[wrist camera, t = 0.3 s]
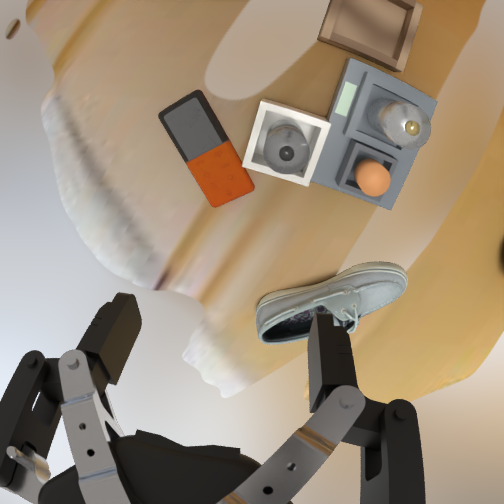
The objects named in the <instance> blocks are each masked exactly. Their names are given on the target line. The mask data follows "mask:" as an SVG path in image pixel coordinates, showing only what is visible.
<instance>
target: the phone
mask: <svg viewBox="0 0 504 504" xmlns="http://www.w3.org/2000/svg"><path fill="white" fill-rule="evenodd" d="M158 117H159V119H160V121H161V123H162V124H163V126H164V128H165V129H166V131H167V133H168V134H169V136H170V138H171V139H172V141H173V143H174V144H175V146H176V148H177V149H178V151H179V153H180V154H181V156H182V158H183V159H184V161H185V163H186V164H187V166H188V168H189V170H190V171H191V173H192V175H193V176H194V178H195V179H196V181H197V183H198V184H199V186H200V188H201V189H202V191H203V193H204V194H205V196H206V198H207V199H208V201H209V202H210V204H211V206H212V207H215V208H216V207H218V206H221V205H223V204H225V203H227V202H229V201H232V200H234V199H236V198H238V197H240V196H243V195H245V194H247V193H250V192H252V191H253V190H254V188H255V187H254V184H253V182H252V180H251V178H250V177H249V175H248V173H247V171H246V169H245V167H242V162H241V160H240V158H239V156H238V155H237V153H236V151H235V149H234V147H233V146H232V144H231V142H230V140H229V138H228V137H227V135H226V133H225V131H224V129H223V128H222V126H221V124H220V122H219V121H218V119H217V117H216V115H215V114H214V112H213V110H212V108H211V107H210V105H209V103H208V101H207V100H206V98H205V96H204V94H203V93H202V91H200V90H195V91H194V92H192V93H190V94H189V95H187V96H185V97H184V98H182V99H180V100H179V101H177V102H175V103H174V104H172V105H170V106H169V107H167V108H166V109H164V110H163V111H161V112H160V113H159V115H158Z"/></svg>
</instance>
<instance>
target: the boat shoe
mask: <svg viewBox="0 0 504 504" xmlns="http://www.w3.org/2000/svg"><path fill="white" fill-rule="evenodd" d="M407 283H408V278H407V274H406V272H405V271H404V269H403V268H402V267H401V266H399V265H397V264H393V263H390V262H367V263H362V264H358V265H355V266H352V267H351V268H349V269H347V270H345V271H343V272H341V273H339V274H338V275H336V276H334V277H332V278H330V279H328V280H326V281H324V282H321V283H318V284H315V285H310V286H304V287H298V288H291V289H285V290H279V291H275V292H272V293H269V294H267V295H266V296H264V297H263V298H262V299H261V301H260V303H259V304H258V306H257V308H256V317H257V318H256V325H257V331H258V338H259V340H260V341H261V342H262V343H264V344H284V343H290V342H295V341H300V340H304V339H308V338H309V333H310V329H311V325H312V321H313V317H314V314H315V313H332V315H333V320H334V326H343V327H344V328H345V330H346V331H347V333H353V332H354V331H355V330H356V327H357V325H359V323H360V322H359V320H360V319H361V317H363V316H365V315H368V314H370V313H372V312H374V311H376V310H378V309H380V308H382V307H384V306H386V305H388V304H390V303H392V302H393V301H395V300H396V299H397V298H399V297H400V296H401V295H402V294H403V293H404V291H405V289H406V287H407Z"/></svg>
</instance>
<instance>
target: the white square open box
mask: <svg viewBox="0 0 504 504" xmlns="http://www.w3.org/2000/svg"><path fill="white" fill-rule="evenodd" d="M282 119H287V120H291V121H294V122H295V123H297V124H298V125H299V126H300V127H301V129H302V131H303V134H304V136H305V138H306V141H307V143H308V145H309V149H310V156H309V160H308V162H307V164H306V165H305V167H304V168H303V169H301V170H300V171H298V172H296V173H293V174H280V173H277V172H275V171H274V170H272V169H271V168H270V167H269V166H268V165H267V163H266V162H265V159H264V155H263V149H264V144H265V140H266V136H267V131H268V129H269V127H270V126H271V125H272V124H273V123H274V122H276V121H278V120H282ZM330 126H331V123H330V122H329V121H328V120H327V119H325V118H324V117H321V116H318V115H315V114H312V113H310V112H307V111H304V110H301V109H298V108H294V107H291V106H288V105H285V104H282V103H278V102H275V101H271V100H268V99H264V98H263V99H262V101H261V103H260V106H259V110H258V113H257V116H256V120H255V123H254V126H253V130H252V133H251V137H250V140H249V143H248V147H247V150H246V154H245V157H244V161H243V164H242V167H245V168H248V169H252V170H255V171H259V172H262V173H266V174H269V175H272V176H276V177H279V178H282V179H285V180H289V181H292V182H295V183H298V184H301V185H304V186H307V187H308V185H309V183H310V180H311V177H312V175H313V172H314V170H315V167H316V164H317V162H318V159H319V156H320V154H321V151H322V148H323V145H324V143H325V140H326V137H327V135H328V132H329V129H330Z"/></svg>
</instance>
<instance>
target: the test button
mask: <svg viewBox="0 0 504 504" xmlns="http://www.w3.org/2000/svg"><path fill="white" fill-rule="evenodd" d="M354 177H355V180H356V182H357V183H358V185H359V187H360V188H361V190H362V191H363V192H364V193H365V194H367V195H369V196H374V197H375V196H380V195H382V194H383V193H385V192H386V191H387V189H388V188H389V186H390V181H391V178H390V174H389V172H388V171H387V169H385V168H384V167H383V166H382V165H381V164H380V163H379V162H378V161H376V160H374V159H365V160H363V161H361V162H360V163H359V164H358V165H357V166H356V168H355V172H354Z"/></svg>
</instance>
